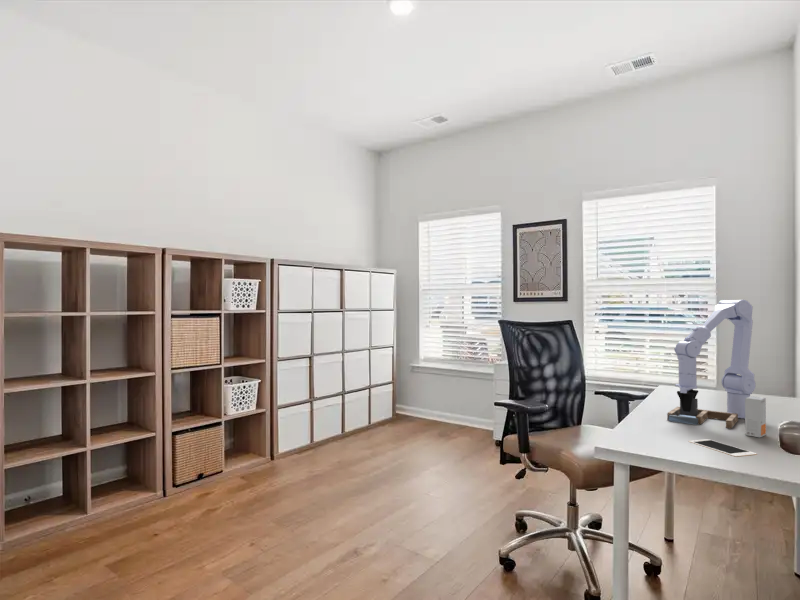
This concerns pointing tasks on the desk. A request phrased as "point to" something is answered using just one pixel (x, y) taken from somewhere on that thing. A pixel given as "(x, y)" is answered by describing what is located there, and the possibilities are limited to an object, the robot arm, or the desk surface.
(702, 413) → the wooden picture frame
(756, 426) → the skincare box
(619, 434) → the desk surface
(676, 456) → the desk surface
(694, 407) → the tall grey box
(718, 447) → the cell phone
